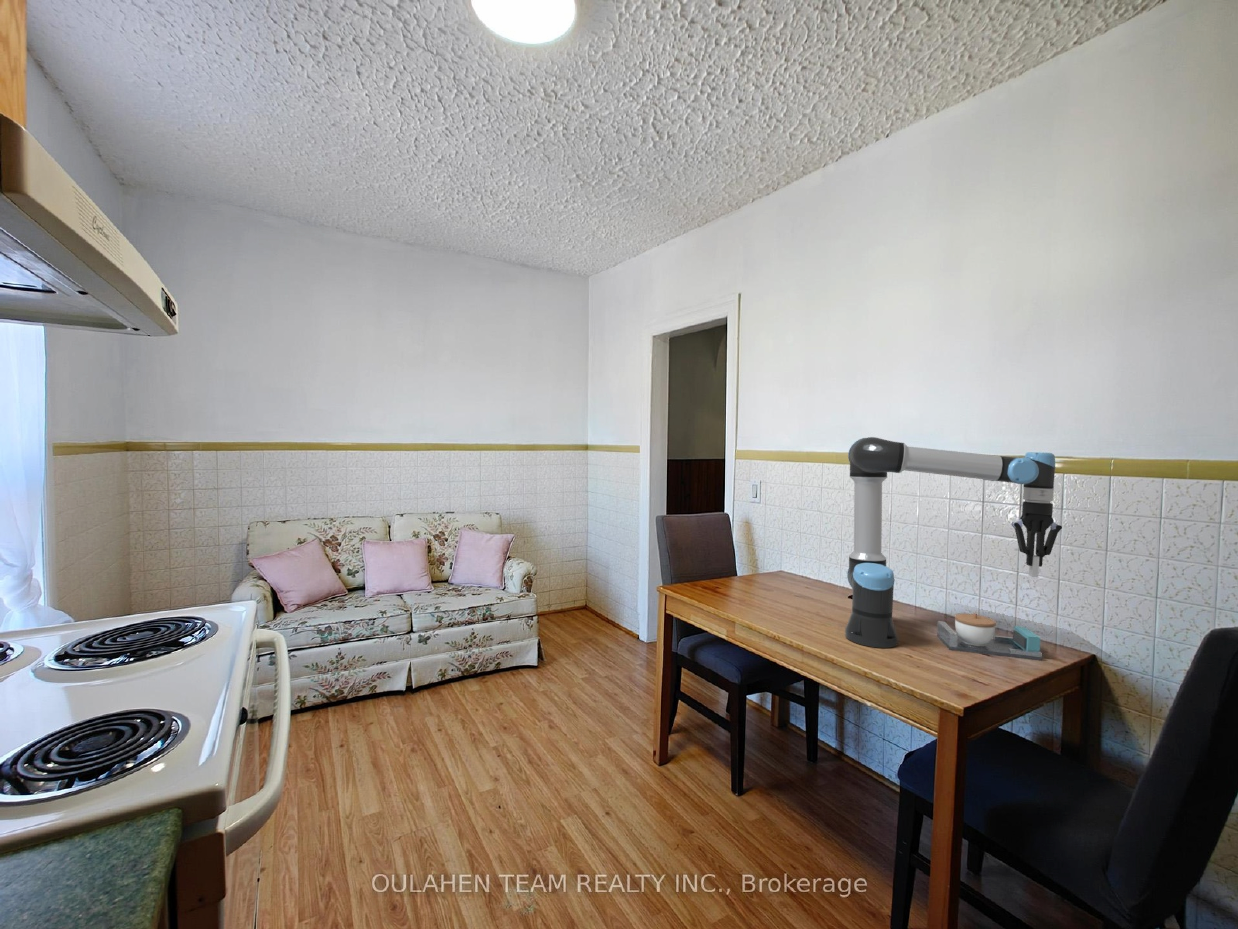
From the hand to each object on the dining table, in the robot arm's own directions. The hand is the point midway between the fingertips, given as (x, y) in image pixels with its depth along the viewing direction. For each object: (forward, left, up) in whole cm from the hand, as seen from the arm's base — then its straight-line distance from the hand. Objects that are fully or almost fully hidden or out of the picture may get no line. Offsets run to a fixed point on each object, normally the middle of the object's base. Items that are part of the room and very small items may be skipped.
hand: (1033, 576), depth 170 cm
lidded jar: (-17, -6, -22) cm, 28 cm away
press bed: (-14, -6, -22) cm, 27 cm away
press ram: (-4, -6, -21) cm, 22 cm away
